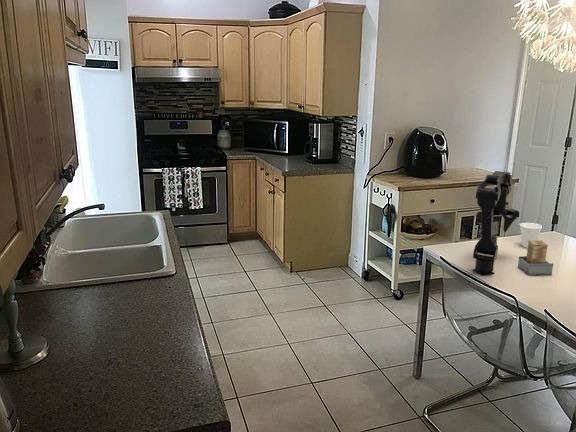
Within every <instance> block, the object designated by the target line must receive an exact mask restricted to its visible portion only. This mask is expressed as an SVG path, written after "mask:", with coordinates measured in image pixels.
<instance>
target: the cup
mask: <svg viewBox="0 0 576 432" xmlns="http://www.w3.org/2000/svg"><path fill="white" fill-rule="evenodd" d="M519 226H520V238H521V247H523V248H525V249H528V241H539V238H540V237H539V236H540V235H541V232H542V229H543V226H542V224H539V223H537V222H536V223H534V222H521V223H519Z"/></svg>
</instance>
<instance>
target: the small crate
mask: <svg viewBox="0 0 576 432" xmlns="http://www.w3.org/2000/svg"><path fill="white" fill-rule="evenodd" d="M548 247H549V245H548V244H547V243H546V242H544V241H543V240H538V241H528V248H526V249H527V251H526V256H527V257H526V262H527V263H528V264H545V260H546V258H547V254H548ZM546 261H547V260H546Z"/></svg>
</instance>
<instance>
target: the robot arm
mask: <svg viewBox="0 0 576 432" xmlns="http://www.w3.org/2000/svg"><path fill="white" fill-rule="evenodd" d="M488 185H490V186H495V187H494V188H488V187H487V186H488ZM512 186H513V174H511V172H510V171H499V170H495V171H494V172H493V173H492V174H487V175H486V176H485V179H484V180H483V181H481V183H479V184H478V187H477V190H476V193H475V198H476V200H477V201H476V203H477V205H478V207H479V209H480V211H477V212H476V215H475V217H476V218H475V219H478V220H480V221H481V226H480V227H481V231H480V233H481V235H480V237H479V239H478V241H477V242H476V243H475V245H474V250H473V255H472V257H473V259H475V260H476V261H475V267H474V268H473V269H472V271H473V272H475V273H477V274H478V275H480V276H488V275H490V276H491V275H494V274H495V272H494V265H495V261H496V260H497V257H498V256H497V255H498V252H499V245H498V241H497V240H498V237H497V236H496V235H494V218H495V217H498V218H499V217H503V232H505V233H506V232H507V231H508V230H509V228H510V227H511V225H512V224H513V223H514V222H515V220H517V218H520V211H519V210H517V209H513V208H506V207H507V206H509V202H508V201H507V197H508V195H509V194H511V192H512V189H513V188H512Z"/></svg>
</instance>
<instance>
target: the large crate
mask: <svg viewBox="0 0 576 432" xmlns="http://www.w3.org/2000/svg"><path fill="white" fill-rule="evenodd" d="M526 257H527V255H526V256H525V255H524V256H523V255H522V256H518V263H517V268H518V269H519V270H521V271H522V272H523V273H525V274H526V275H527V276H529V277H530V276H531V277H533V276H535V277H536V276H552V274H553V267H554V263H552V262H551V263H550V262H549V261H547V260H545V264H528V263H527V262H526Z"/></svg>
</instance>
